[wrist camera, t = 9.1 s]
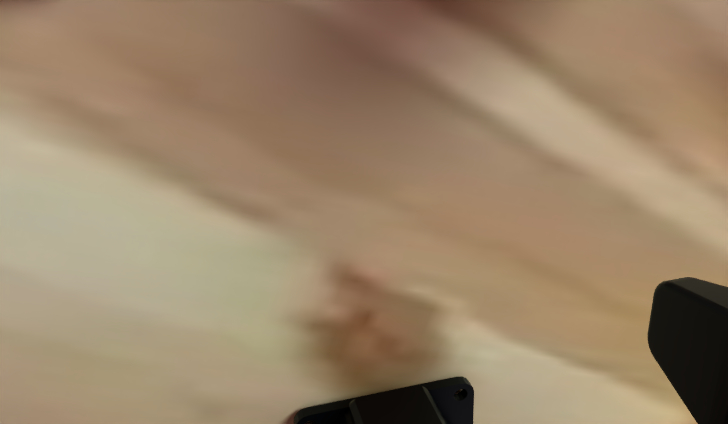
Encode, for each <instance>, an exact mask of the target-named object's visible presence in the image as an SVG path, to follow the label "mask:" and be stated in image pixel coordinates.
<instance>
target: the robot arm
mask: <svg viewBox="0 0 728 424" xmlns="http://www.w3.org/2000/svg"><path fill="white" fill-rule="evenodd" d="M648 344H649V348H650V350H651V353H652V355H653V357H654V358H655V360H656V361H657V363H658V364H659V366H660V367H661V369H662V370H663V372H664V373H665V375H666V376H667V378H668V379H669V381H670V382H671V384H672V385H673V387H674V388H675V390H676V391H677V393H678V394H679V396H680V398H681V399H682V401H683V402H684V404H685V405H686V407H687V408H688V410H689V411H690V413H691V414H692V416H693V417H694V419H695V420H696V422H697V423H698V424H728V287H725V286H721V285H718V284H714V283H711V282H707V281H703V280H700V279H696V278H692V277H684V278H679V279H674V280H668V281H664V282H662V283H660V284H659V285H658V286H657V287H656V289H655V292H654V296H653V303H652V309H651V316H650V322H649V329H648ZM460 389H462V391H461V392H459V393H457V394H455V393H456V392H457V391H458V390H460ZM473 405H474V390H473V387H472V386H471V384H470V382H469V381H468V380H467V379H466V378H464V377H454V378H449V379H444V380H439V381H434V382H429V383H424V384H420V385H415V386H410V387H405V388H400V389H395V390H390V391H386V392H381V393H376V394H371V395H366V396H361V397H357V398H352V399H347V400H342V401H337V402H332V403H327V404H323V405H318V406H313V407H308V408H305V409H302V410H300V411H299V412H298V413H297V414H296V416H295V417H294V424H305V423H306V422H308V421H314V422H313V423H312V424H473Z"/></svg>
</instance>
